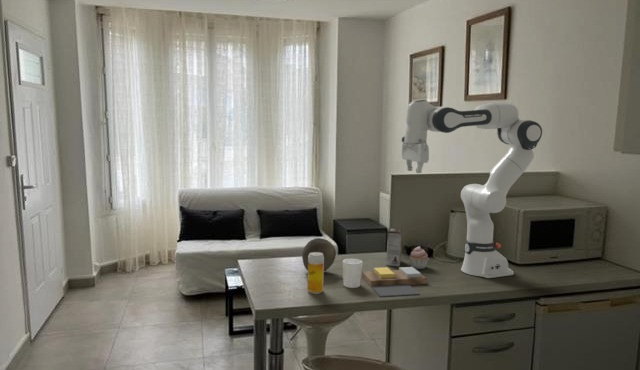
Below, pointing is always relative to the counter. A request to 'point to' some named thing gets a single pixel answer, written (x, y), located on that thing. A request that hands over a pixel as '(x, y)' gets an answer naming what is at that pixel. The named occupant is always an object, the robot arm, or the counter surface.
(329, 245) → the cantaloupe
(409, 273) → the grey flat block
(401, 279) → the brown wooden flat block
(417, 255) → the cupcake
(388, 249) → the coffee box
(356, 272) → the white cup
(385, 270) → the card mustard
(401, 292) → the mat
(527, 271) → the counter surface
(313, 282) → the pill bottle
